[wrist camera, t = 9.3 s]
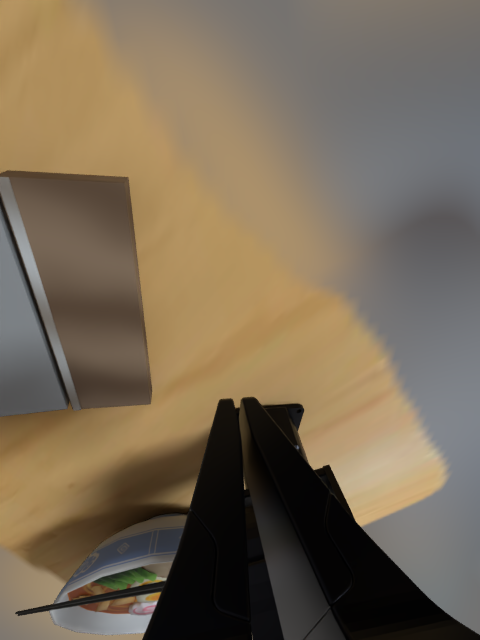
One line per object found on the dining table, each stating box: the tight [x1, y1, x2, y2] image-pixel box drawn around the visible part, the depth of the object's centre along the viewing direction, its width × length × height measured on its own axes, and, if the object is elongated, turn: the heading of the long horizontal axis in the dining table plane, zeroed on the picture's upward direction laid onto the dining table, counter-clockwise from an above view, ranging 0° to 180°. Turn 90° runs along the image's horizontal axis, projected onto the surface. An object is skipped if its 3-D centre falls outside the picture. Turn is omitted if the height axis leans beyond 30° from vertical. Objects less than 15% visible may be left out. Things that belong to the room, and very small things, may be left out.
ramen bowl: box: [15, 513, 187, 635], centre depth 36 cm, size 25×23×8 cm
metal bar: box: [0, 171, 152, 410], centre depth 20 cm, size 16×6×2 cm, turn 175°
